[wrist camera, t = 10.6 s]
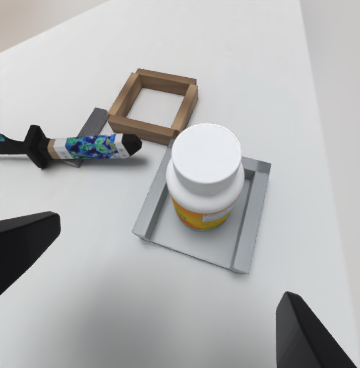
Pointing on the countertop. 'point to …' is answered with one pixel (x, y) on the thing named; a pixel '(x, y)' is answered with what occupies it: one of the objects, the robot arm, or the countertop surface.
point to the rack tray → (212, 239)
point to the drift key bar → (90, 130)
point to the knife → (70, 146)
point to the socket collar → (158, 83)
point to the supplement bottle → (205, 175)
